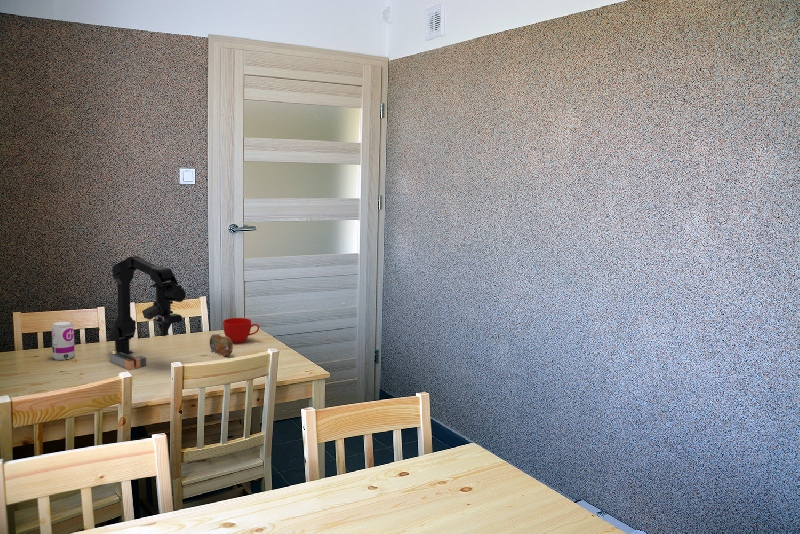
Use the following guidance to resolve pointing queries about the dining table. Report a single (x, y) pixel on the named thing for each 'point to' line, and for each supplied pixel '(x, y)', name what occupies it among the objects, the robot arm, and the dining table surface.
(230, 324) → the ceramic cup
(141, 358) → the grey block
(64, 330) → the supplement can
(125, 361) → the tongs fixed arm
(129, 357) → the tongs jaw
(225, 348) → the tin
